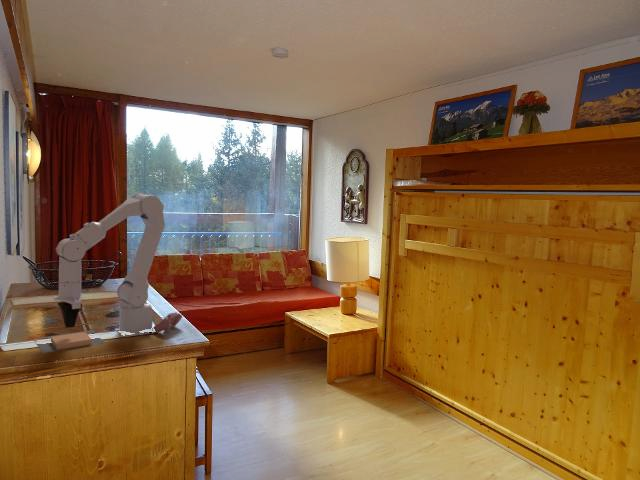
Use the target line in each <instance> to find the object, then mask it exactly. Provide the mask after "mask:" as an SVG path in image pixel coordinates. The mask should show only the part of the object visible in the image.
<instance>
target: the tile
mask: <svg viewBox="0 0 640 480" xmlns="http://www.w3.org/2000/svg"><path fill="white" fill-rule="evenodd" d="M81 332H82V333H76V332H74V333H75V334H69V333H67V334H68V335H62V334H60V335H61V336H55V335H53V336H54V337H51V342H52V344H53V345H54V347H55V348H56V349H57V350H59V349H65V348H71V347H77V346H84V345H90V344H92V339H91V338H90V337H89V336H88V335H87V334H86V333H85V332H83V331H81Z"/></svg>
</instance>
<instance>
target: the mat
mask: <svg viewBox="0 0 640 480" xmlns="http://www.w3.org/2000/svg"><path fill="white" fill-rule="evenodd" d="M82 332H85V333H86V334H89V333H96V332H95V331H94V330H93V329H91V330H85V331H84V330H82V331H76V332H71V333H69V332H68V333H63V334H62V333H61V334H57V335H56V334H55V335H50V336H42V337H33V340H34V339H43V338H51V337H54V336H61V335H68V334H75V333H82ZM102 344H103V345H104V344H106V342H105V341H104V340H103V339H102V338H101V337H100V338H95V339H92V344H90V345H84V346H77V347H71V348H65V349H59V350H57V349H56V348H55V347H54V345H53V344H52V343H46V344H36V345H37V347H38V349H39V350H40V352H41V353H42V354H47V353H53V352H59V351H60V352H61V351H65V350H66V351H67V350H72V349H79V348H83V347H91V346H96V345H102Z"/></svg>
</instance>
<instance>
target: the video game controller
mask: <svg viewBox="0 0 640 480" xmlns="http://www.w3.org/2000/svg"><path fill="white" fill-rule="evenodd" d="M182 318H183V315H182V314H180V313H179V312H177V311H175V312H170V313H168V314H167V316H165V317H164V318H163V319H162V320H161V321H159V323H156V325H154V326H152V329H153V328H154V329H155V331H156V333H155V334H158V333H161V332H163V331H164V332H166V333H167V332H169V330H170V329H171V330H172V329H174V328H175V327H176V325H178V324H179V322H180V321H181V319H182Z"/></svg>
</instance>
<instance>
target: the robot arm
mask: <svg viewBox="0 0 640 480" xmlns="http://www.w3.org/2000/svg"><path fill="white" fill-rule="evenodd" d="M164 208H165V205H164V204H163V202H162V200H161V199H160V198H159V197H158V196H156V195H152V194H151V195H148V194H145V193H135V194H134V195H132V197H129V198H127V199H126V200H125V201H124V202H123V203H120V205H119V206H117V207H116V208H115V209H114V210H113V211H111V212H110V213H108V214H107V215H106V216H104V217H103V218H102V219H100V220H99V221H98V222H96V221H91V222H86V223H84V224H83V227H82V228H81V229H79V230H78V231H77V232H74V233H71V234H70V235H69V238H64V239H62V240H60V241H59V242H58V244H57V246H56V247H55V251H56V254H57V256H59V257H58V259H59V261H58V264H59V265H58V295H54V296H53V300H54V301H58V302H57V306H58V307H59V309H60V311H61V315H62V319H63V324H64V326H65V328H66V329H69V328H70V329H71V328H74V327H75V326H76V325H75V324H76V322H77V317H78V316H79V315H78V314H79V312H80V310H81V308H82V307H83V303H82V302H81V301H82V298H83V294H82V269H83V268H82V259H83V258H84V257H85V254H86V252H87V251H88V250H90V249H91V248H92V247H93V246H95V245H96V244H98V243H100V242H101V241H102V240H103V239H105V238H106V235H107V231H109V230H110V229H112V228H113V227H115V226H116V225H118V224H119V223H121V222H123V221H124V220H126V219H127V218H129V217H138V216H139V217H140V219H141V221H142V222H143V223H144V225H145V227H144V230H143V234H142V236H141V239H140V242H139V245H138V246H137V250H136V253H135V256H134V258H133V262H132V266H131V269H130V272H129V273H127V275H126V276H125V277H123V278H124V279H123V281H122V282H121V284H119V286H118V287H117V290H116V295H117V298H119V300H120V303H119V323H118V325H119V326H118V327H117V328H114V330H115V332H117V330H119V331H126V332H130V333H135V334H133V335H125V336H122V337H123V338H124V337H131V336H136V335H146V334H148V335H149V333H148V332H144V333H140V332H139V331H142V330H145V329H151V328H152V329H153V316H154V315H153V313H154V312H153V307H152V305H151V303H147V301H148V298H149V291H148V290H149V286H150V285H149V279H148V275H149V272H150V270H151V268H152V267H151V266H152V264H153V261H154V258H155V255H156V252H157V250H158V247H159V244H160V241H161V238H162V234H163V232H164V228H165V225H166V223H165V217H164V211H163V210H164ZM59 301H60V302H59Z"/></svg>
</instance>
